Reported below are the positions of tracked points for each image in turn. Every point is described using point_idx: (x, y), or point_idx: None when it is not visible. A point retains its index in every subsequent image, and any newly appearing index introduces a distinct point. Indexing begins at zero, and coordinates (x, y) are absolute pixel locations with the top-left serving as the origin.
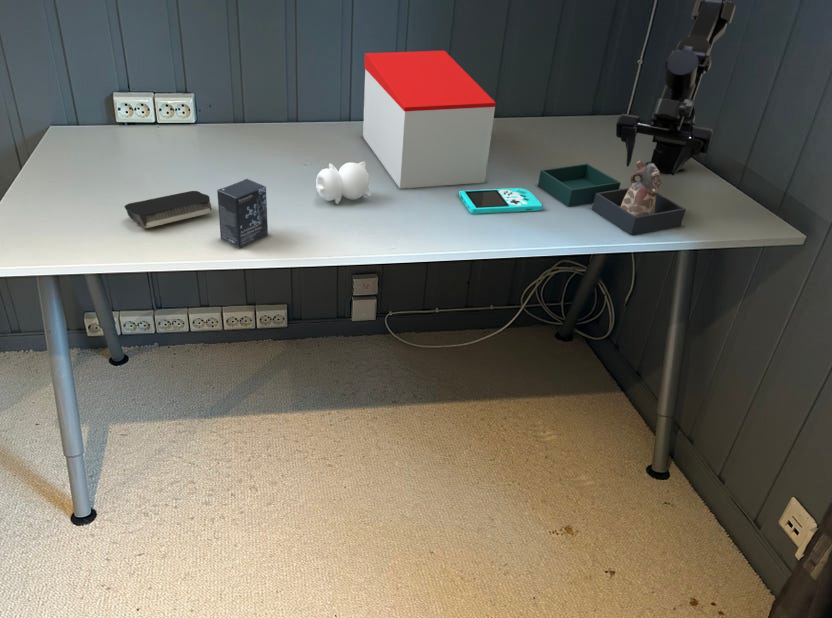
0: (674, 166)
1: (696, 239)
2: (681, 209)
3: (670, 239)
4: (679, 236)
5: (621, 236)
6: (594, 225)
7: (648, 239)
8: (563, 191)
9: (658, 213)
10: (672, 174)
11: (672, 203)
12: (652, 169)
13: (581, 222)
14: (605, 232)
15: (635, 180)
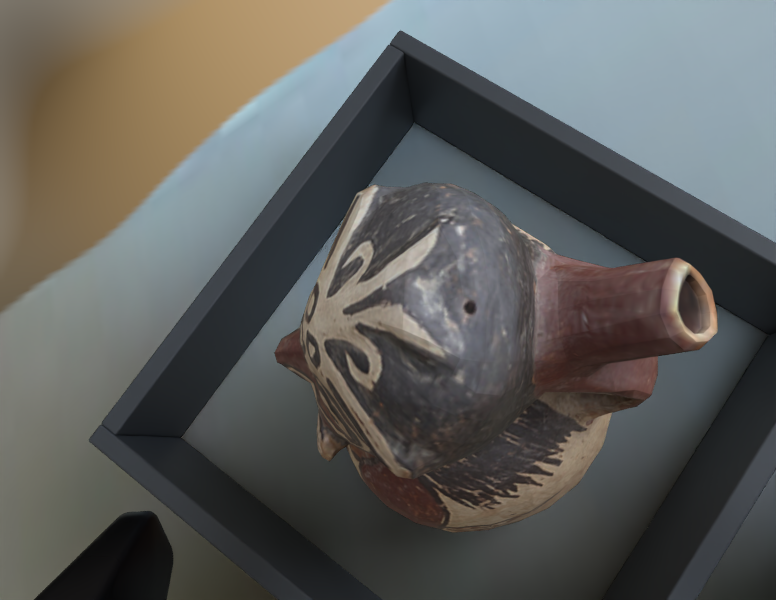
0: (104, 591)
1: (46, 294)
2: (120, 408)
3: (186, 196)
4: (144, 272)
5: (454, 54)
6: (658, 94)
7: (302, 115)
8: None
9: (268, 210)
10: (157, 528)
11: (209, 512)
12: (394, 216)
13: (751, 84)
14: (558, 45)
15: (597, 400)
